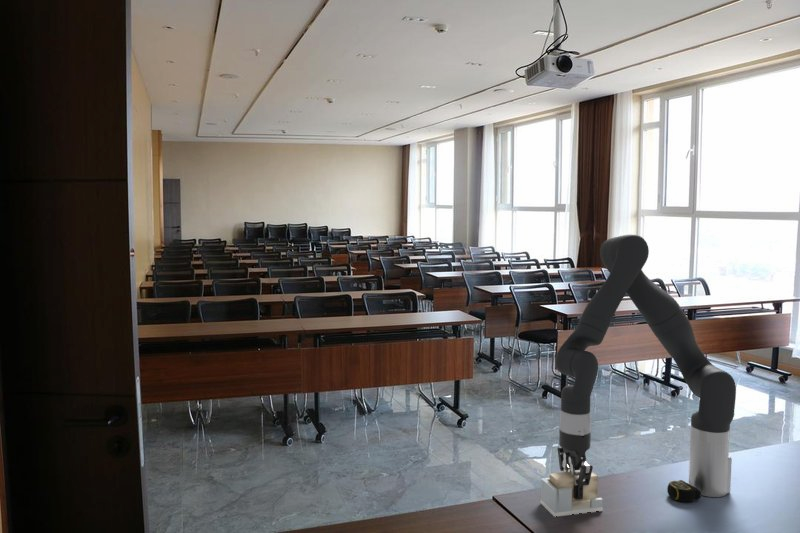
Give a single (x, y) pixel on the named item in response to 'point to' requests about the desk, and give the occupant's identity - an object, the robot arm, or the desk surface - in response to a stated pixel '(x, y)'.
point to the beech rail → (568, 481)
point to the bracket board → (565, 501)
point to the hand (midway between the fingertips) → (573, 494)
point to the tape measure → (683, 491)
